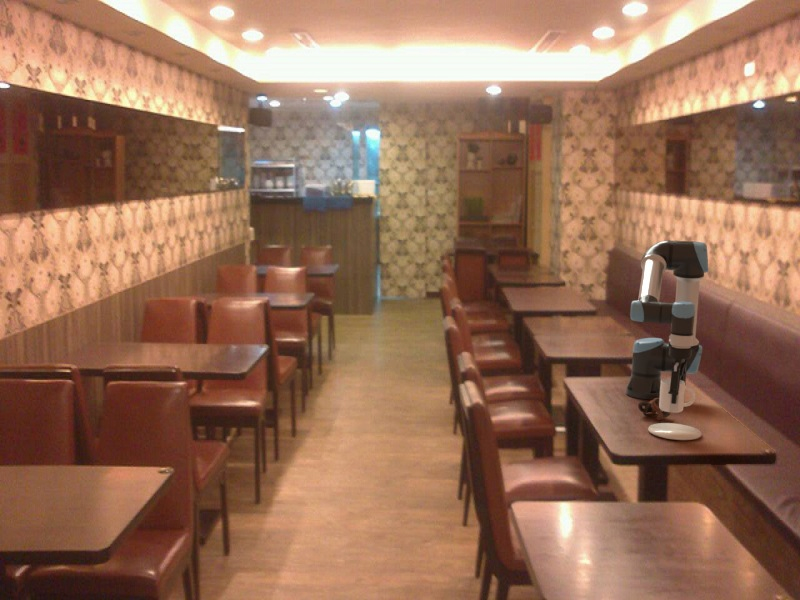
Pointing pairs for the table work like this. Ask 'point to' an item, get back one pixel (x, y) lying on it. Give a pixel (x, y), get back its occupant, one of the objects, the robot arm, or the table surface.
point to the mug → (665, 397)
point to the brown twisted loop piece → (653, 408)
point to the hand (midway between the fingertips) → (676, 409)
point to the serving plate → (674, 431)
